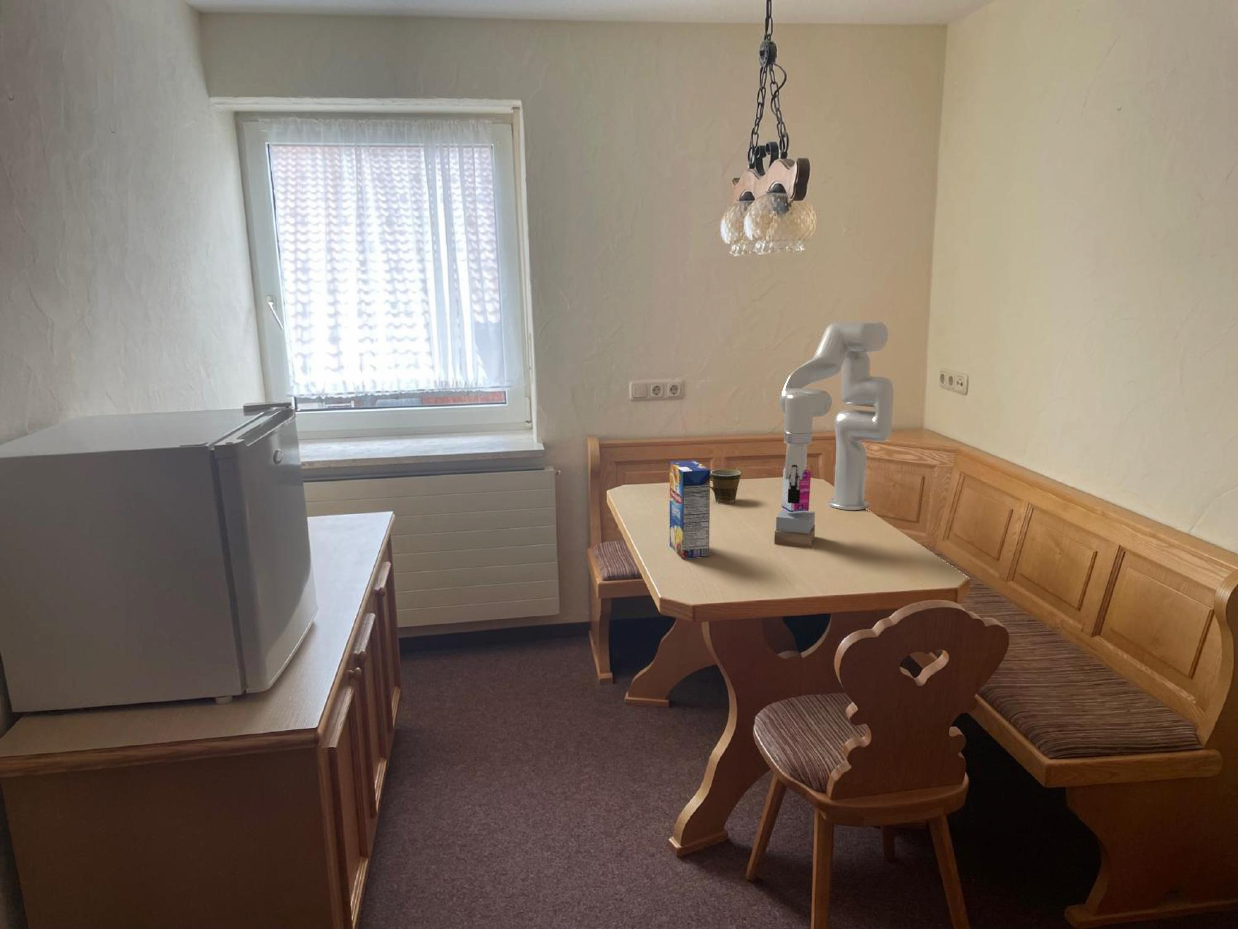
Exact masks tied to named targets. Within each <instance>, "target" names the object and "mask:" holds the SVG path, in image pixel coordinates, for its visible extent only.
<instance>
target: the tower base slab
mask: <svg viewBox="0 0 1238 929" xmlns="http://www.w3.org/2000/svg"><path fill="white" fill-rule="evenodd" d="M815 531H816V524H814V526H813V528H812V529H811V531H810V532H809V534H803V533H794V532H784V531H776V529H775V530H774V540H773V541H774V545H781V546H790V545H791V546H793V547H800V546H804V547H803V548H812V545H813V543H812V542H814V539H815V535H816V533H815ZM791 546H790V547H791Z"/></svg>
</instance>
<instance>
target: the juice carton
mask: <svg viewBox="0 0 1238 929" xmlns="http://www.w3.org/2000/svg"><path fill="white" fill-rule="evenodd" d="M710 475H711V469H710V468H708V467H707V466H705V465H703V464H702V463H700V462H698V460H682V461H669V547H670V546H671V547H672V548H673V549H674V550H673V549H672V548H671V547H670V548H671V549H672V550H673V551H674V552H675V551H676V552H675V553H676V554H677V555H678V557H680V558H681V560H690V559H689V558H692V559H698V558H697V557H702V558H709V557H710V516H711V515H710V514H711V513H710V512H711V511H710V507H711V506H710V505H711V504H710V503H711V502H710V500H711V499H710V498H711V497H710V496H711V488H710V486H711V479H710Z"/></svg>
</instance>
